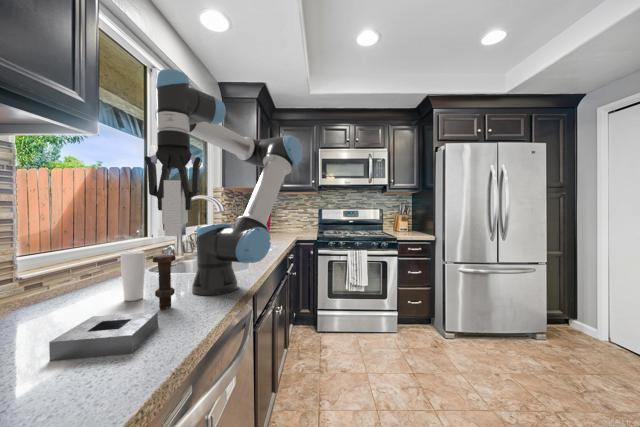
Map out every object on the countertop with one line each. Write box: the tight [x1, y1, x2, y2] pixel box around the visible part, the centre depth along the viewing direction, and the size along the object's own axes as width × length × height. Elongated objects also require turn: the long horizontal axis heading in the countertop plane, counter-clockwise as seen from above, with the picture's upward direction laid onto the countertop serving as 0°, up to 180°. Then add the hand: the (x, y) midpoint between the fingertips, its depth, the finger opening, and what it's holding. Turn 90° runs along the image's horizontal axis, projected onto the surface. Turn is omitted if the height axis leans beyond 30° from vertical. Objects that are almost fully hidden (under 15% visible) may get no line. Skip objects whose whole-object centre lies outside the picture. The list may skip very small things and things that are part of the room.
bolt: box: [152, 254, 176, 310], centre depth 85 cm, size 6×5×15 cm
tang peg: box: [163, 179, 187, 237], centre depth 77 cm, size 4×4×14 cm
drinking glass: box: [120, 250, 147, 302], centre depth 95 cm, size 7×7×15 cm
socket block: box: [48, 311, 159, 362], centre depth 63 cm, size 14×14×4 cm
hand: (175, 223), depth 77 cm, fingers closed on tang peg, 4 cm apart
